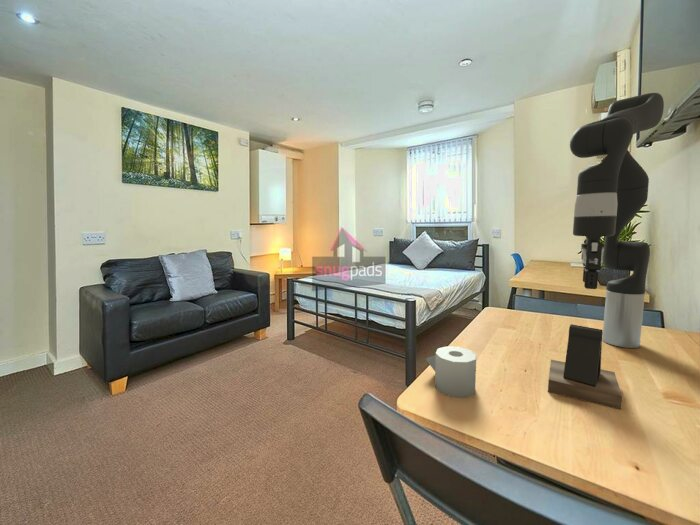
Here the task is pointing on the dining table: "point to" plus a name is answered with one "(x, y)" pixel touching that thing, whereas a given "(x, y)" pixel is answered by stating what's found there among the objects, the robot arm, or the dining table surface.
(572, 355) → the phone stand
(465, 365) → the toilet tissue
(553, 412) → the dining table surface
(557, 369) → the walnut block
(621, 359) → the dining table surface
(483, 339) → the dining table surface
